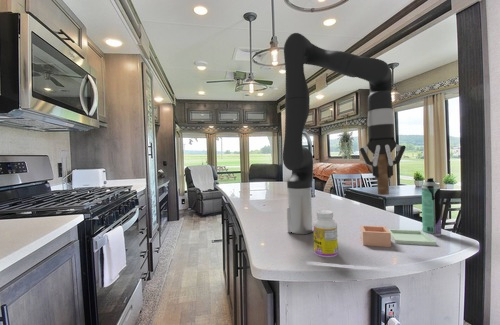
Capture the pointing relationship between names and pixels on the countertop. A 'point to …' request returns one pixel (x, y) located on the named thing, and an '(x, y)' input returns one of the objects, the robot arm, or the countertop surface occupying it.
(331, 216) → the supplement bottle
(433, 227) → the spray can
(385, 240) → the peach planter box
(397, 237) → the tray
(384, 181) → the dowel
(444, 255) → the countertop surface
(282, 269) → the countertop surface
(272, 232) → the countertop surface
